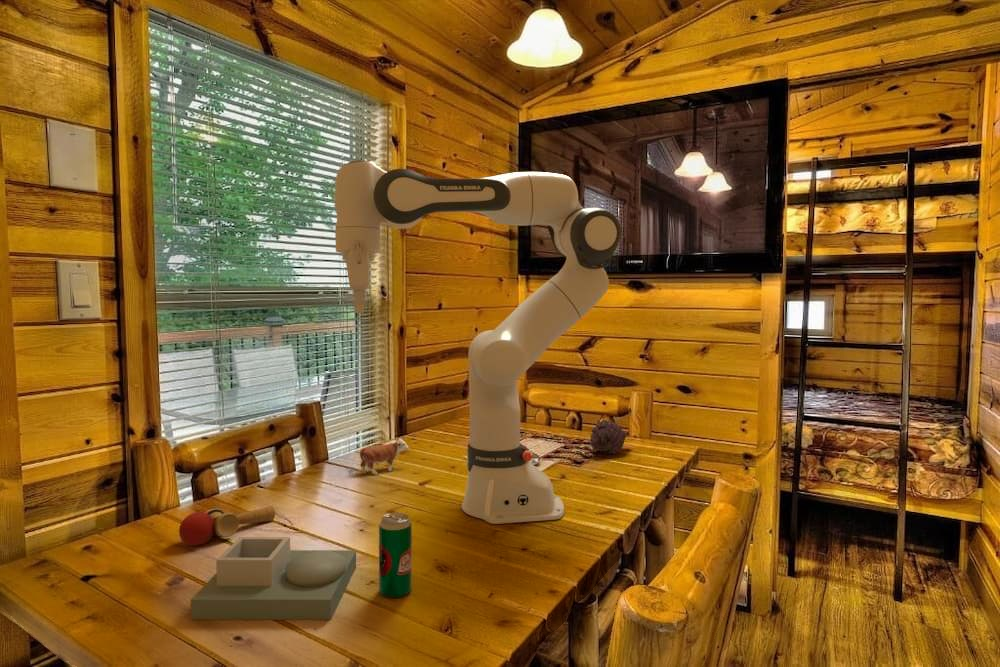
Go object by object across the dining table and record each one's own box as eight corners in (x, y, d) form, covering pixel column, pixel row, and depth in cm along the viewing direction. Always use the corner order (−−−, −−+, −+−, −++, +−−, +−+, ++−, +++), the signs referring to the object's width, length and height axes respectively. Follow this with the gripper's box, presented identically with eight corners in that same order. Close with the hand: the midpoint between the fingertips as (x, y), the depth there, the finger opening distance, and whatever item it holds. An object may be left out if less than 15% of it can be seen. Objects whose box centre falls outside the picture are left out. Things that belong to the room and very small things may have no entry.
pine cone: (605, 463, 163) (606, 428, 162) (576, 456, 169) (576, 423, 169) (636, 450, 176) (636, 418, 175) (607, 445, 183) (608, 413, 182)
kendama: (257, 521, 123) (168, 537, 108) (264, 492, 122) (175, 505, 108) (277, 537, 118) (186, 556, 104) (284, 508, 118) (193, 523, 103)
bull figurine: (410, 469, 155) (410, 439, 155) (362, 477, 148) (362, 446, 147) (403, 465, 159) (403, 435, 158) (356, 473, 151) (356, 442, 151)
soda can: (404, 601, 89) (404, 525, 88) (373, 597, 90) (373, 522, 89) (415, 585, 94) (416, 513, 93) (386, 581, 95) (386, 510, 94)
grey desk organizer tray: (356, 567, 100) (356, 527, 99) (331, 619, 84) (330, 572, 83) (239, 567, 99) (238, 527, 99) (191, 619, 83) (190, 572, 83)
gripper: (376, 239, 108) (377, 314, 109) (372, 247, 127) (373, 310, 128) (341, 238, 106) (342, 314, 107) (342, 247, 126) (343, 310, 127)
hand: (359, 312), depth 118 cm, fingers open, 8 cm apart
